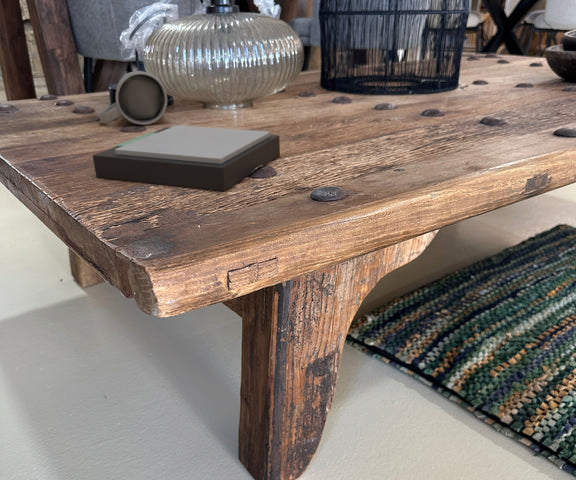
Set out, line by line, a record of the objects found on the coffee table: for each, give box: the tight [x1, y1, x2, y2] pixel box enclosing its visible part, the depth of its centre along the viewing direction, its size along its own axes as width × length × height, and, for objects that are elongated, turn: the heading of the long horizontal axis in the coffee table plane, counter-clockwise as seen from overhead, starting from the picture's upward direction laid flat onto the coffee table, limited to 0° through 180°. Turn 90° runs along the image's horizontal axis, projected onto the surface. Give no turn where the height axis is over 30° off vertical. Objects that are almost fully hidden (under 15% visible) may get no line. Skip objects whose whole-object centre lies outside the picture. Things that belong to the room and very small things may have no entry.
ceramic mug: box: [97, 70, 168, 126], centre depth 89 cm, size 11×8×8 cm
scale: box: [92, 124, 281, 192], centre depth 66 cm, size 16×15×3 cm
